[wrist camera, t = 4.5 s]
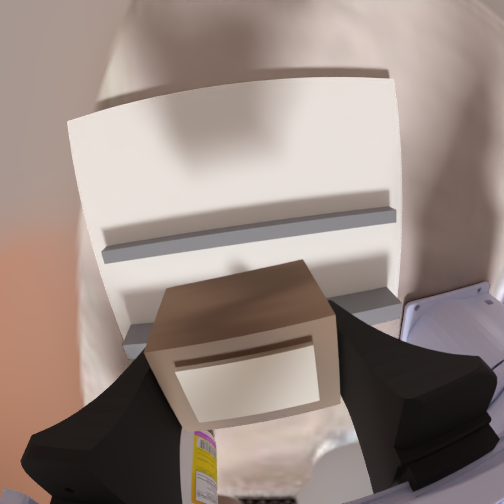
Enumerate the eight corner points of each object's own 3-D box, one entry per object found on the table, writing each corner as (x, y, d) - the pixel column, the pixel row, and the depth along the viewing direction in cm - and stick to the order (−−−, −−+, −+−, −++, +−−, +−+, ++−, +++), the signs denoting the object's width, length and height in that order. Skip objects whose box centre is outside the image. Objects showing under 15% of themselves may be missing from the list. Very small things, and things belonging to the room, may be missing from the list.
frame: (302, 259, 12) (337, 318, 8) (313, 336, 14) (342, 407, 10) (166, 288, 12) (142, 356, 8) (193, 361, 14) (185, 436, 10)
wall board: (389, 80, 17) (419, 72, 13) (391, 314, 23) (412, 341, 19) (71, 121, 16) (42, 121, 13) (132, 353, 22) (122, 385, 19)
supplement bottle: (144, 446, 27) (128, 554, 15) (152, 410, 25) (130, 539, 13) (207, 459, 28) (208, 566, 16) (224, 425, 26) (230, 553, 14)
